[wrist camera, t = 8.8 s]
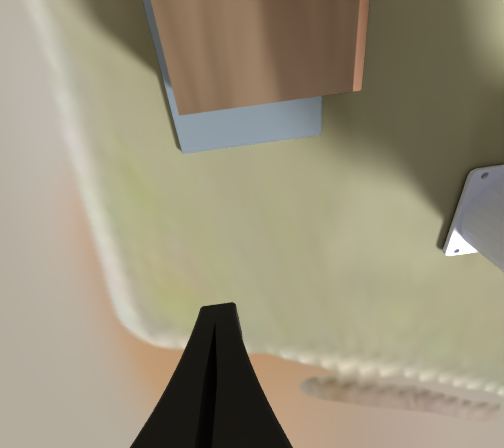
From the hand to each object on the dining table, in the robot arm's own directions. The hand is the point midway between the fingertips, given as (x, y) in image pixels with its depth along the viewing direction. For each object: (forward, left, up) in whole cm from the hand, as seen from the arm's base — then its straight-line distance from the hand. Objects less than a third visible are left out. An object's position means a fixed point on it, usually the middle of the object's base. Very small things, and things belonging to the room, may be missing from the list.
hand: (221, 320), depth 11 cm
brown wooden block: (-8, -10, -8) cm, 15 cm away
